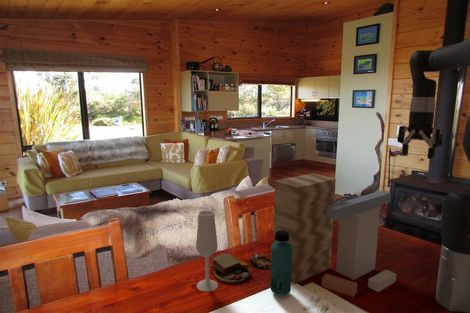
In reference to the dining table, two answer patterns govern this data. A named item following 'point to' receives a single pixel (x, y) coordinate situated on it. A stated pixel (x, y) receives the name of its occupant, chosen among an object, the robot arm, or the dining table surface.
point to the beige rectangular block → (381, 280)
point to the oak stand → (306, 222)
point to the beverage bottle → (281, 264)
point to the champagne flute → (206, 245)
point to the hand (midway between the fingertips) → (417, 156)
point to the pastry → (261, 261)
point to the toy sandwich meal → (230, 268)
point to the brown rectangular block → (339, 285)
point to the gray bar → (358, 205)
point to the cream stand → (357, 243)
